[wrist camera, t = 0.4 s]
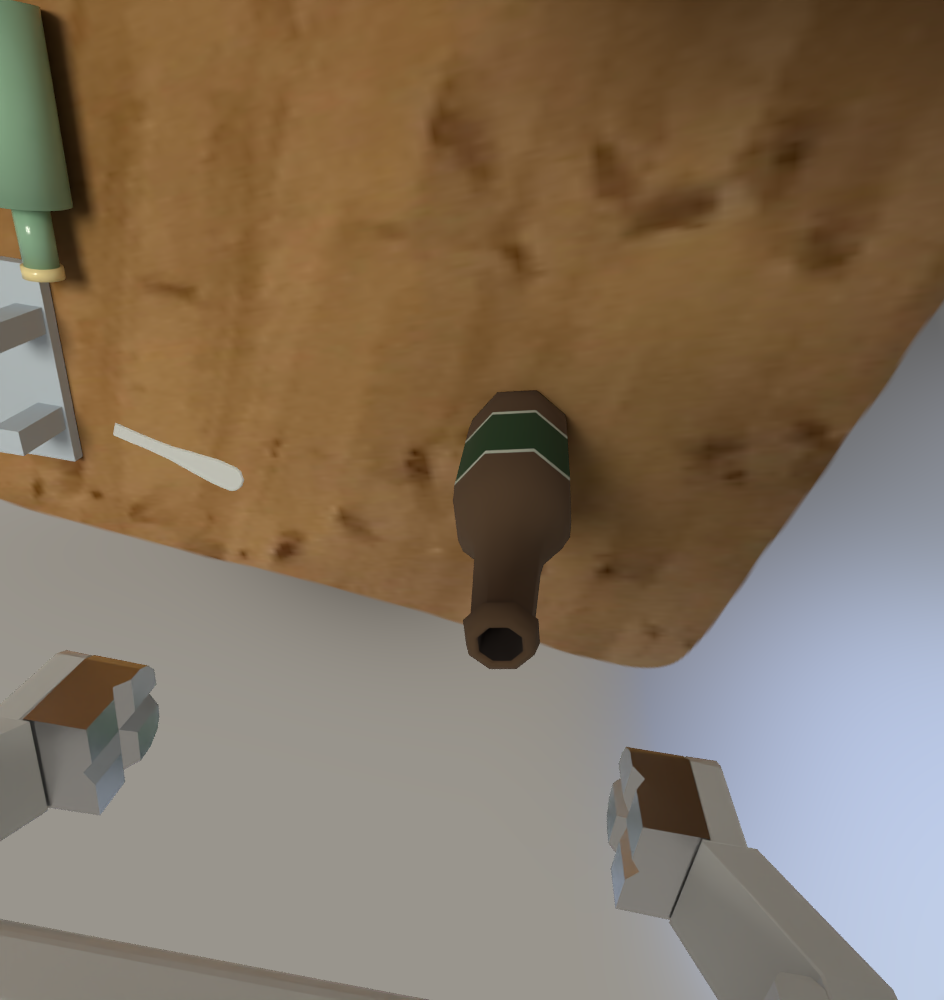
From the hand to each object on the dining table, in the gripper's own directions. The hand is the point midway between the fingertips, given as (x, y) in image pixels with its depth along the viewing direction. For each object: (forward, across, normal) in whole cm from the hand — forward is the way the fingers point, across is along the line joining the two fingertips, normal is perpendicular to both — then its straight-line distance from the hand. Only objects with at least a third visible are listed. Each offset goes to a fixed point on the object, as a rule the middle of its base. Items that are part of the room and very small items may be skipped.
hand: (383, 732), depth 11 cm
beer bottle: (+40, -2, +7) cm, 41 cm away
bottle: (+38, +32, -8) cm, 51 cm away
